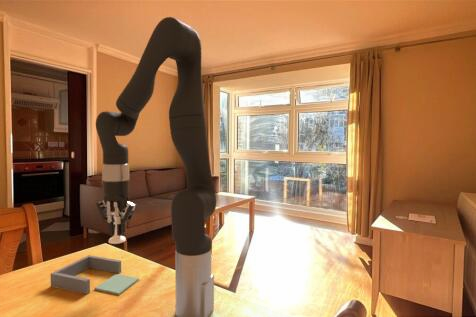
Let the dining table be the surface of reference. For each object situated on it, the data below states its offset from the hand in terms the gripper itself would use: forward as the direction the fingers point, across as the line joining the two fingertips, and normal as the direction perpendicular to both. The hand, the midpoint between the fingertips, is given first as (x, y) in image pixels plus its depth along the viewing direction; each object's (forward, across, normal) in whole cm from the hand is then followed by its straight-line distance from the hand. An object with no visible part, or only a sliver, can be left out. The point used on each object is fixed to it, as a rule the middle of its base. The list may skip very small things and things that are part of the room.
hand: (117, 234), depth 84 cm
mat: (+16, 0, 0) cm, 16 cm away
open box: (+16, +11, 0) cm, 20 cm away
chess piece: (+2, 0, 0) cm, 2 cm away
